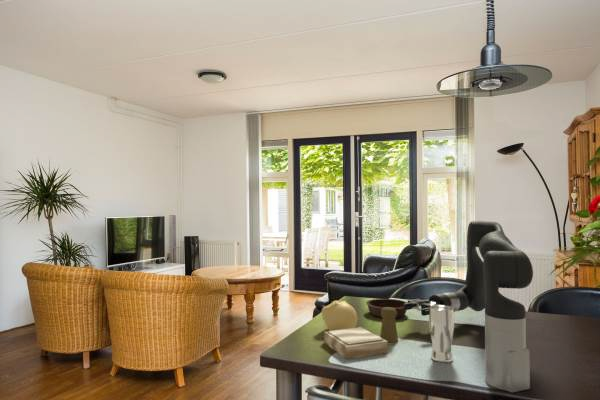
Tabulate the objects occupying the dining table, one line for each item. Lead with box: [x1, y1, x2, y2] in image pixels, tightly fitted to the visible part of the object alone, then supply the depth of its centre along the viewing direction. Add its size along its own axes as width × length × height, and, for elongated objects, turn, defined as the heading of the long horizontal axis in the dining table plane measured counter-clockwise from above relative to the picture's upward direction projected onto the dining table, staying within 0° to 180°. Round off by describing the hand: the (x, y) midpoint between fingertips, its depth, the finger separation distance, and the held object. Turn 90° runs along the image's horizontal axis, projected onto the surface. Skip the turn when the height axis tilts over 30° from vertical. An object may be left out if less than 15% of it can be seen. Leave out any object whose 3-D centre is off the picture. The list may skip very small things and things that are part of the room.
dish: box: [365, 298, 408, 319], centre depth 175 cm, size 18×22×5 cm
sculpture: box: [321, 300, 358, 331], centre depth 151 cm, size 12×12×11 cm
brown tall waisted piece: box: [379, 307, 399, 344], centre depth 140 cm, size 6×6×11 cm
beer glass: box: [428, 305, 455, 363], centre depth 123 cm, size 7×7×15 cm
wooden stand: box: [323, 326, 389, 360], centre depth 133 cm, size 16×14×4 cm
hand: (412, 309), depth 146 cm, fingers open, 8 cm apart
